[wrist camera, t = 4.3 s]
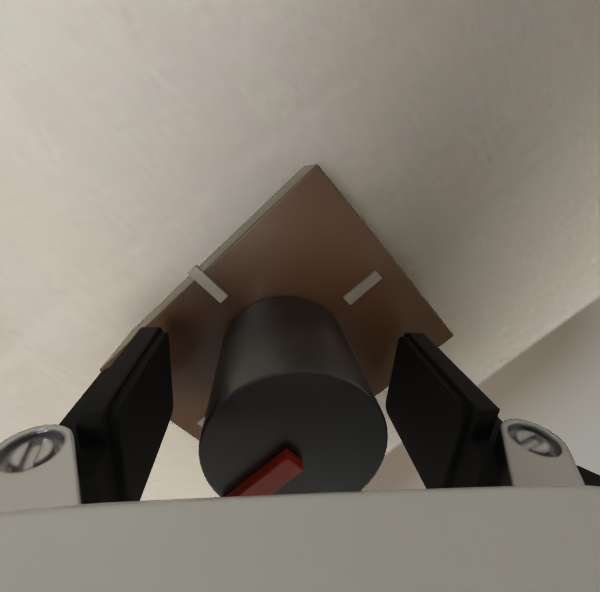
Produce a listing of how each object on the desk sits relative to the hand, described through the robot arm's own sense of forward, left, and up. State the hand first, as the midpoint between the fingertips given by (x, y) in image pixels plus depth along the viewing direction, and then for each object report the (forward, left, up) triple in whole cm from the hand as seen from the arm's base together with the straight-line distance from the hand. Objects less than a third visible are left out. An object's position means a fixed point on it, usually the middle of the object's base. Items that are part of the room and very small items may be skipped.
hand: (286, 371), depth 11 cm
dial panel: (0, 0, -4) cm, 4 cm away
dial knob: (0, 0, -1) cm, 1 cm away
